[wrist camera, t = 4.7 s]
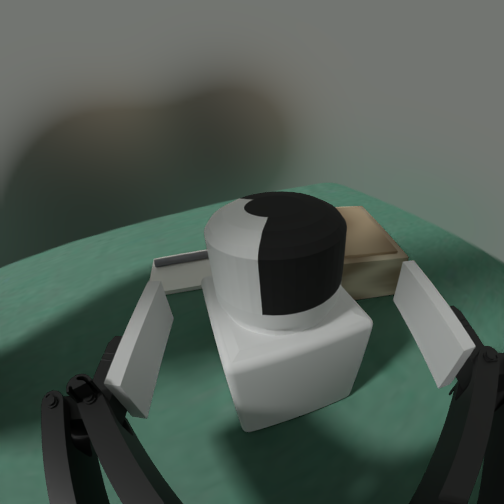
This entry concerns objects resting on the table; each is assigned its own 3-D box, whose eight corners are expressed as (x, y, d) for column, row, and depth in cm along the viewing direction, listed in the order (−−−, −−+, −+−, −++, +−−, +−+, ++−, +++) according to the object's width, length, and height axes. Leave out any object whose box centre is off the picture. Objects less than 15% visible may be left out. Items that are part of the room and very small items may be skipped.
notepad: (150, 301, 26) (144, 286, 25) (156, 265, 32) (152, 252, 31) (246, 285, 27) (244, 269, 27) (236, 251, 33) (234, 237, 32)
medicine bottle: (306, 327, 21) (310, 175, 15) (351, 396, 15) (398, 223, 9) (218, 352, 19) (182, 196, 13) (244, 435, 13) (197, 270, 7)
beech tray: (273, 308, 23) (271, 267, 21) (266, 242, 34) (263, 209, 31) (399, 293, 23) (409, 254, 21) (359, 235, 33) (362, 204, 31)
